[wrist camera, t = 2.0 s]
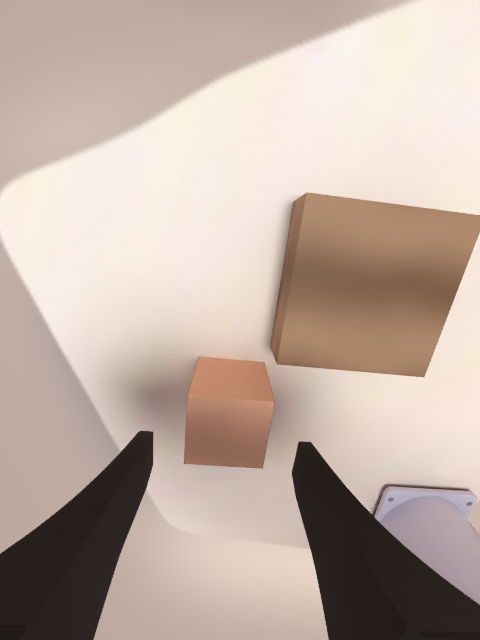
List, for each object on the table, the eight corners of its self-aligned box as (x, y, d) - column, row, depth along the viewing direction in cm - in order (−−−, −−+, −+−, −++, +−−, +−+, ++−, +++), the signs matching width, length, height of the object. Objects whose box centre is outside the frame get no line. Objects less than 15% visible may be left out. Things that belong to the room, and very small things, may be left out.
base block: (397, 358, 17) (424, 377, 15) (270, 346, 16) (276, 363, 14) (443, 220, 14) (485, 216, 12) (294, 201, 14) (306, 192, 11)
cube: (255, 415, 18) (262, 468, 14) (195, 411, 18) (183, 463, 14) (264, 361, 17) (274, 402, 13) (199, 356, 17) (187, 395, 12)
